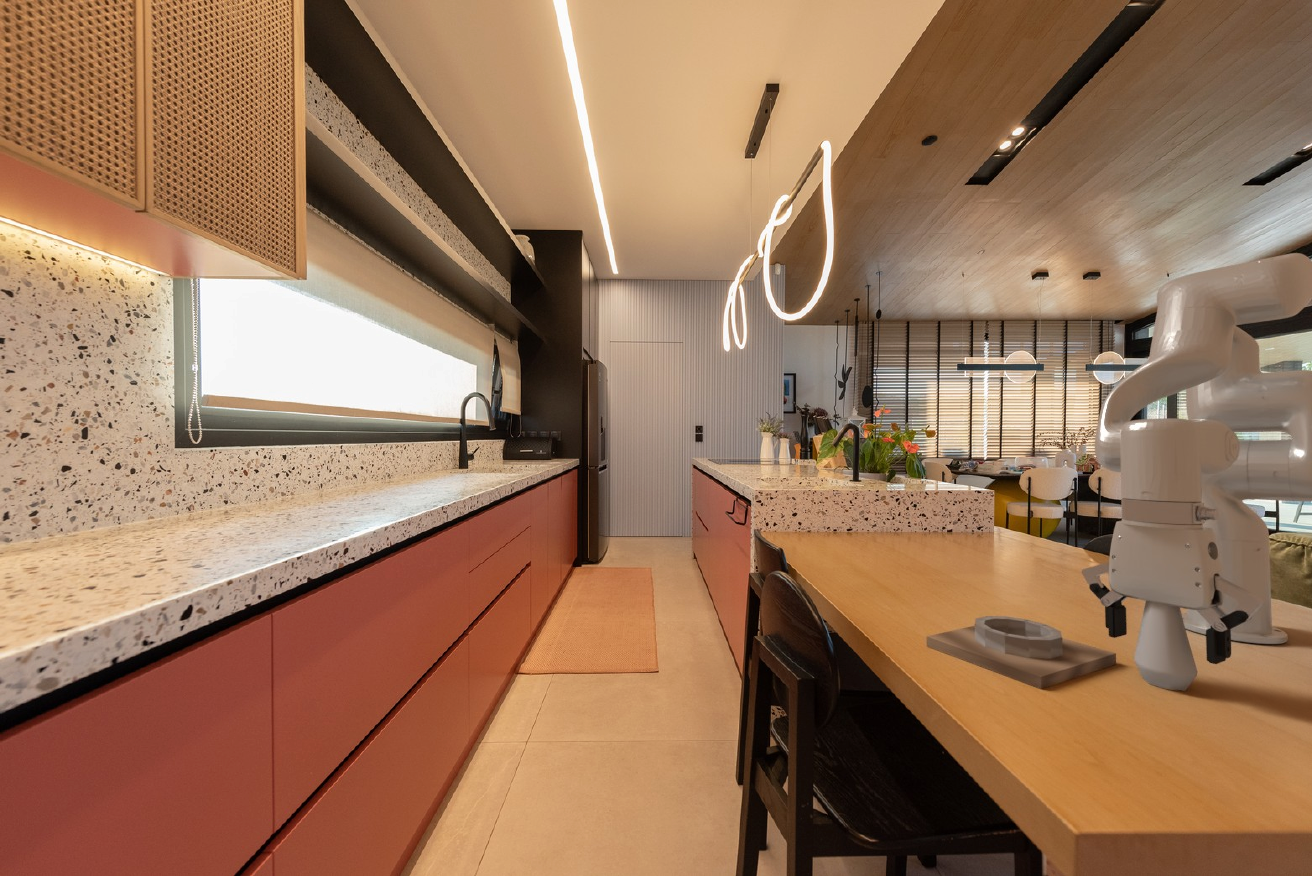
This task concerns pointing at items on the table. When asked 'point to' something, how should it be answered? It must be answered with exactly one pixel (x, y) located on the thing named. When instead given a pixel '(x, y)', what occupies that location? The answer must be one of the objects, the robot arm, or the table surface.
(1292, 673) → the table surface
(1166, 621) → the salt shaker
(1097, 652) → the collar board
